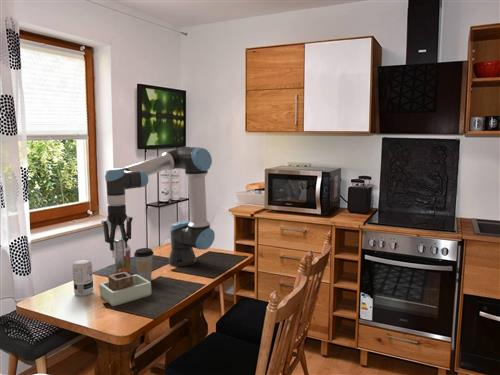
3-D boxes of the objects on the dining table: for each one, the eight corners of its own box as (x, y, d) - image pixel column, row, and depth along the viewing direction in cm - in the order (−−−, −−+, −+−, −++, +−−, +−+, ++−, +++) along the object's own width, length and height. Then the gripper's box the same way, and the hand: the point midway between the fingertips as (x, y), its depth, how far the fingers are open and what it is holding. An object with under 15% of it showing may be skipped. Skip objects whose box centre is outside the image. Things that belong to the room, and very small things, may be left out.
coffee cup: (149, 283, 202) (148, 253, 199) (131, 282, 204) (130, 252, 201) (157, 276, 211) (156, 248, 209) (140, 275, 213) (139, 247, 210)
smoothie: (119, 278, 209) (117, 239, 206) (112, 274, 215) (110, 236, 212) (134, 274, 214) (132, 236, 211) (127, 270, 220) (125, 233, 217)
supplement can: (74, 291, 193) (72, 260, 190) (93, 288, 196) (91, 257, 194) (74, 297, 185) (72, 265, 183) (94, 294, 188) (92, 263, 186)
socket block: (126, 291, 191) (125, 271, 190) (134, 297, 185) (132, 276, 184) (109, 296, 186) (108, 275, 185) (116, 302, 180) (115, 280, 179)
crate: (137, 286, 198) (136, 274, 197) (151, 294, 188) (150, 282, 187) (100, 296, 186) (99, 283, 186) (113, 306, 176) (112, 292, 175)
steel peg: (121, 264, 186) (120, 238, 184) (125, 266, 183) (123, 240, 182) (114, 266, 184) (112, 240, 182) (117, 268, 181) (116, 241, 179)
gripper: (130, 200, 188) (132, 251, 191) (94, 205, 177) (97, 258, 180) (138, 203, 182) (140, 254, 185) (100, 207, 171) (103, 262, 175)
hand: (119, 256), depth 183 cm, fingers closed on steel peg, 3 cm apart
